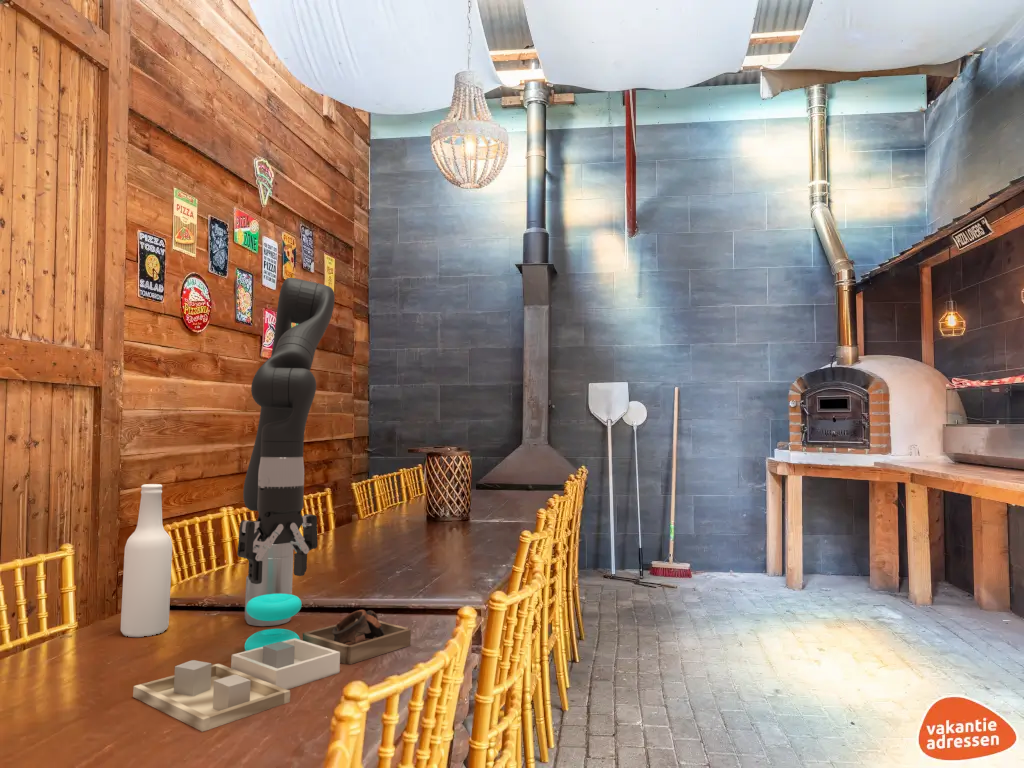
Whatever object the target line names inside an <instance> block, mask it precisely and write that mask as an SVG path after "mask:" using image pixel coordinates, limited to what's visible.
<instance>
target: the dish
mask: <svg viewBox="0 0 1024 768" xmlns="http://www.w3.org/2000/svg"><path fill="white" fill-rule="evenodd" d="M283 642H284V643H287V644H290V645H293V646H295V650H294V664H292V665H288V666H285V667H281V668H278V669H277V668H275V667H272V666H269V665H266V664H263V647H260V648H256V649H252V650H248V651H246V650H244V651H241V652H238V653H232V654H231V657H230V658H231V661H230V662H231V664H230V668H232V669H234V670H237V671H239V672H242V673H245V674H247V675H250V676H253V677H255V678H258V679H260V680H263V681H266V682H268V683H271V684H274V685H276V686H279V687H281V688H284V689H287V690H290V689H293V688H296V687H299V686H302V685H306V684H308V683H309V684H310V683H312V682H315V681H318V680H321V679H324V678H327V677H330V676H335V675H336V674H337V675H338V674H340V670H341V669H340V667H341V664H340V652H338V651H335V650H332V649H328V648H325V647H322V646H319V645H315V644H312V643H309V642H306V641H303V639H300V640H299V639H296V638H294V639H290V640H287V641H283Z"/></svg>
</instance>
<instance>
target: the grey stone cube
mask: <svg viewBox="0 0 1024 768" xmlns="http://www.w3.org/2000/svg"><path fill="white" fill-rule="evenodd" d="M211 665H213V663H211V662H206V661H200V660H195V659H192V660H189V661H186V662H183V663H181V664H178V665H175V666H174V693H178V694H183V695H188V696H196V695H198V694H200V693H203V692H205V691H207V690H210V689H211Z"/></svg>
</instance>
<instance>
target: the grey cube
mask: <svg viewBox="0 0 1024 768" xmlns="http://www.w3.org/2000/svg"><path fill="white" fill-rule="evenodd" d="M294 650H295V646H293V645H290V644H287V643H284V642H277V643H273V644H269V645H266V646H263V664H266V665H269V666H272V667H275V668H277V669H278V668H281V667H285V666H288V665H292V664H294Z"/></svg>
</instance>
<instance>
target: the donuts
mask: <svg viewBox="0 0 1024 768" xmlns="http://www.w3.org/2000/svg"><path fill="white" fill-rule="evenodd" d="M301 609H302V600H301V598H299V596H297V595H296V594H295V595H294V594H292V595H291V594H266V595H261V596H257V597H254V598H252V599H251V600H250V601H249V602H248V603H247V606H246V611H247V613H248V614H249V615H250V616H251V617H252V618H255V619H257V620H262V621H277V620H283V619H287V618H290V617H291V618H292V617H294V616H295V615H297V614H298V613H299V612H300V610H301ZM294 638H296V639H299V640H301V637H300V636H299V635H298V634H297V633H296V632H295V631H294V630H290V629H286V628H267V629H262V630H259V631H256V632H254V633H253V634H251V635H250V636H249V637H247V638H246V640H245V643H244V651H248V650H252V649H256V648H260V647H263V646H266V645H269V644H273V643H277V642H283V641H287V640H290V639H294Z"/></svg>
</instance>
